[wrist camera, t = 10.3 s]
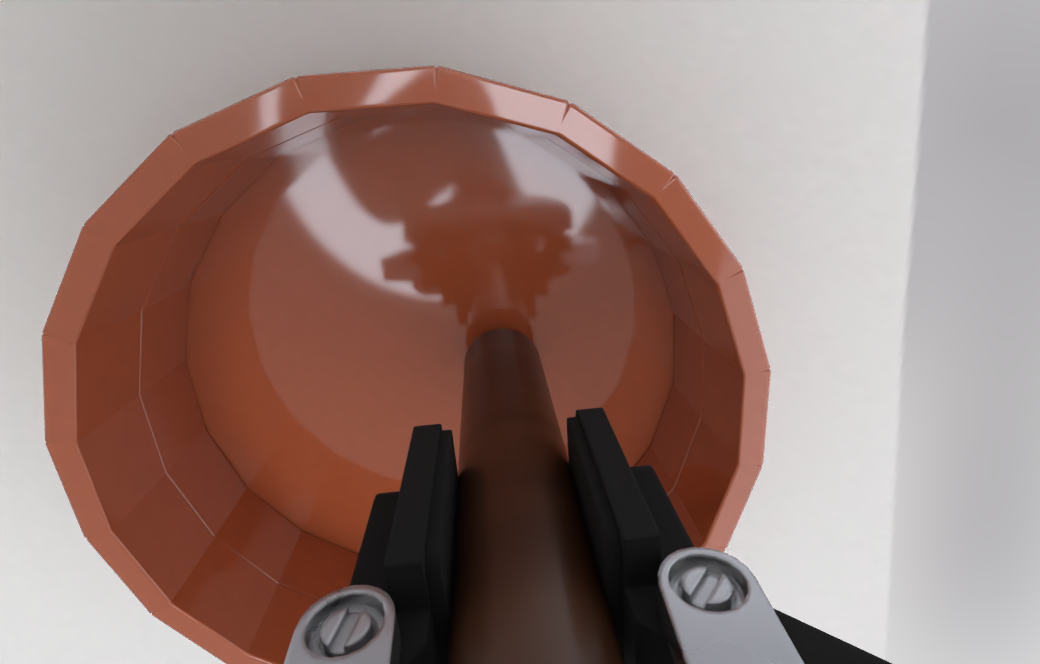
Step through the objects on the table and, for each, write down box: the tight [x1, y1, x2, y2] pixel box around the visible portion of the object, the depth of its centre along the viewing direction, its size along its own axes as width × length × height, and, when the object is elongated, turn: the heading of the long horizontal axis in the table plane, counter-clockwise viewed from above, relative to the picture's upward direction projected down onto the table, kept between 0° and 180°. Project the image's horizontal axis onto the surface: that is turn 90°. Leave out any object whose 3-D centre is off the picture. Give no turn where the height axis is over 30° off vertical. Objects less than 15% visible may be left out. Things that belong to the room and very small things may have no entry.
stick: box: [447, 328, 625, 664], centre depth 12 cm, size 2×2×12 cm
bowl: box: [42, 66, 771, 664], centre depth 17 cm, size 17×17×6 cm
